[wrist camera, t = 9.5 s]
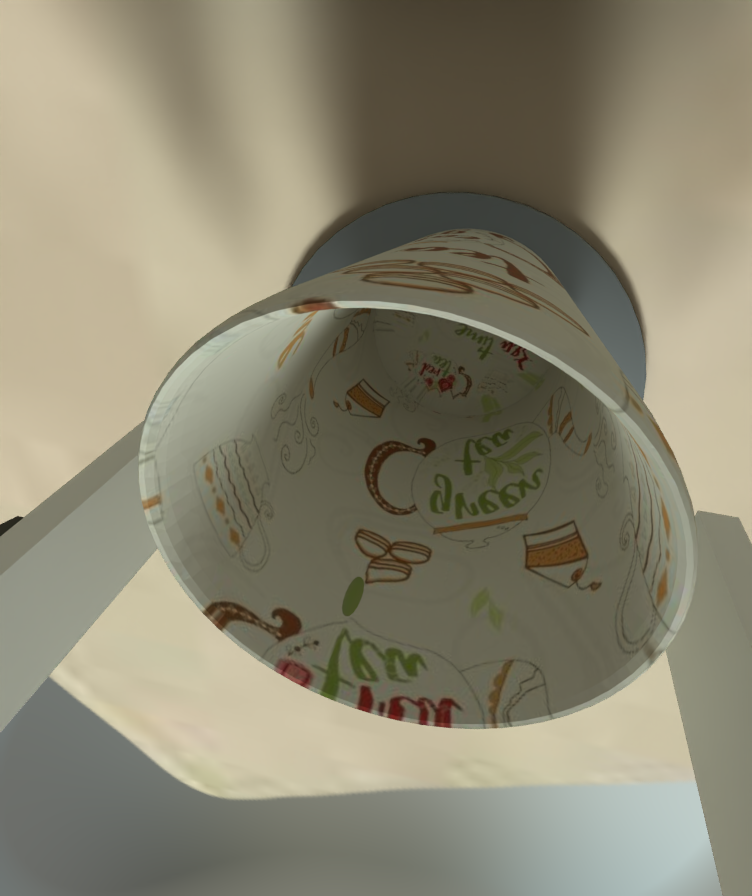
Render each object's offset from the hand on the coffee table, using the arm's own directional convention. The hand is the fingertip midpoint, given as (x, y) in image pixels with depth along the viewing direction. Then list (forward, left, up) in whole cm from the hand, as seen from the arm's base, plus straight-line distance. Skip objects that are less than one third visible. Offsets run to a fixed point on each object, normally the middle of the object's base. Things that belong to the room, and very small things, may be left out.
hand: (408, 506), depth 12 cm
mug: (0, 0, -6) cm, 6 cm away
